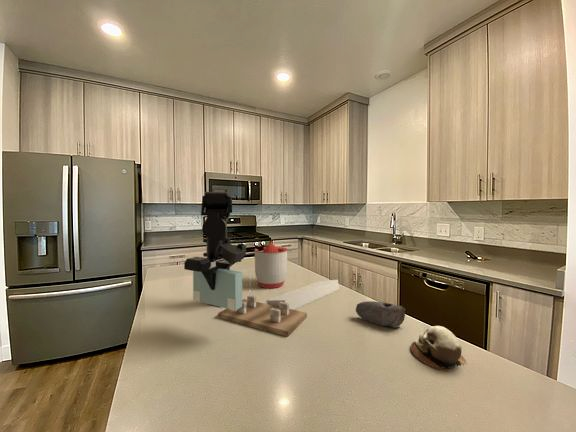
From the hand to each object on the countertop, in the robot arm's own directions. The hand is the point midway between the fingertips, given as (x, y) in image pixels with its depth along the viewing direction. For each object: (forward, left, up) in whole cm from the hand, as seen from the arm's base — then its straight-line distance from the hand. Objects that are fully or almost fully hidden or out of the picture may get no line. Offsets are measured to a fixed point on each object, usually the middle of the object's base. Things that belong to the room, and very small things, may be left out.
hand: (216, 288), depth 72 cm
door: (0, 0, -4) cm, 4 cm away
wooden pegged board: (+7, +14, -13) cm, 20 cm away
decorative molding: (+13, +38, -14) cm, 42 cm away
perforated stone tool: (+42, +28, -13) cm, 52 cm away
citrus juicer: (-9, +45, -13) cm, 48 cm away
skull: (+57, +16, -13) cm, 61 cm away
